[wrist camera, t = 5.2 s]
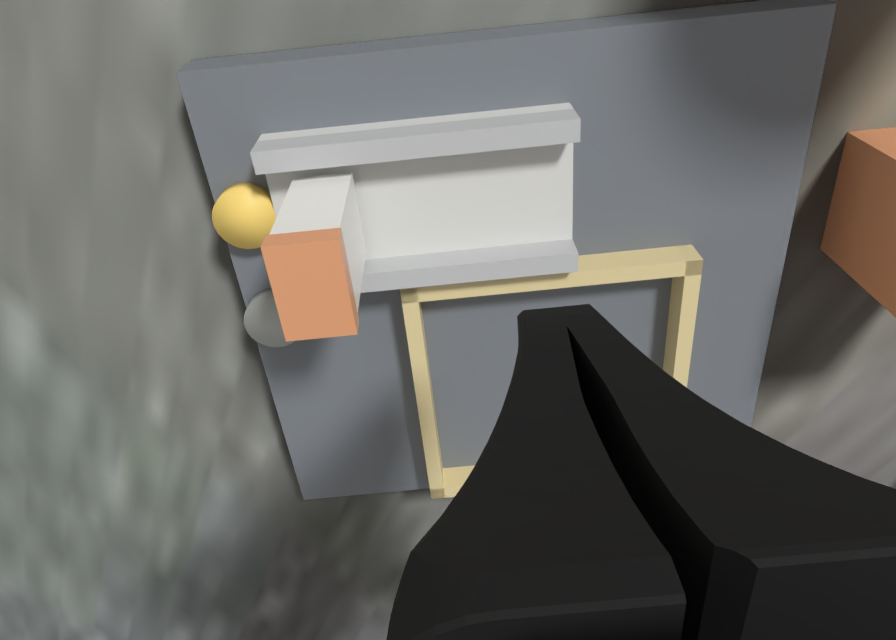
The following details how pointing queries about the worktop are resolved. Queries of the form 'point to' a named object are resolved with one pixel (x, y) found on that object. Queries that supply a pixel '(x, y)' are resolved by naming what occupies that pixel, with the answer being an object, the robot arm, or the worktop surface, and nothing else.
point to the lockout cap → (866, 214)
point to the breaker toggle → (317, 258)
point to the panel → (515, 212)
